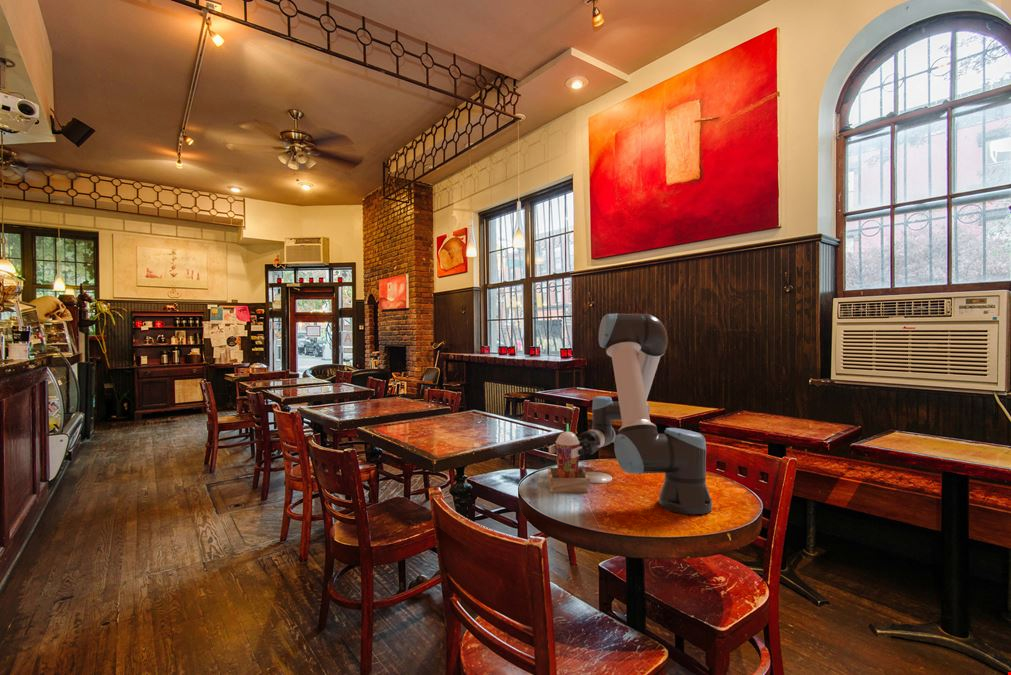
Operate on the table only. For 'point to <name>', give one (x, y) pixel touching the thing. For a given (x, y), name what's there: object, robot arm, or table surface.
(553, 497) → the table surface
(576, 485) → the crate
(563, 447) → the smoothie
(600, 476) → the pale round disc
